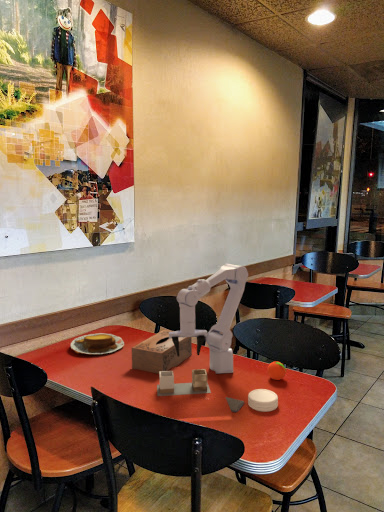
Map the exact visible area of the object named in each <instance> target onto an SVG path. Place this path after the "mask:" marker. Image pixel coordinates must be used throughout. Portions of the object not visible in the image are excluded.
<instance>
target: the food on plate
mask: <svg viewBox="0 0 384 512" xmlns="http://www.w3.org/2000/svg"><path fill="white" fill-rule="evenodd" d="M124 346H125V342H124V340H123V339H122V337H120V336H118V335H114V334H112V333H104V332H102V333H101V332H99V333H90V334H85V335H81V336H78V337H75V338H74V339H73V340H72V341H71V342H70V348H71V350H73V351H74V353H76V354H84V355H85V354H86V355H103V354H104V355H105V354H108V353H109V354H110V353H113V352H116V351H117V350H120V349H122V348H123V347H124Z"/></svg>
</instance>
